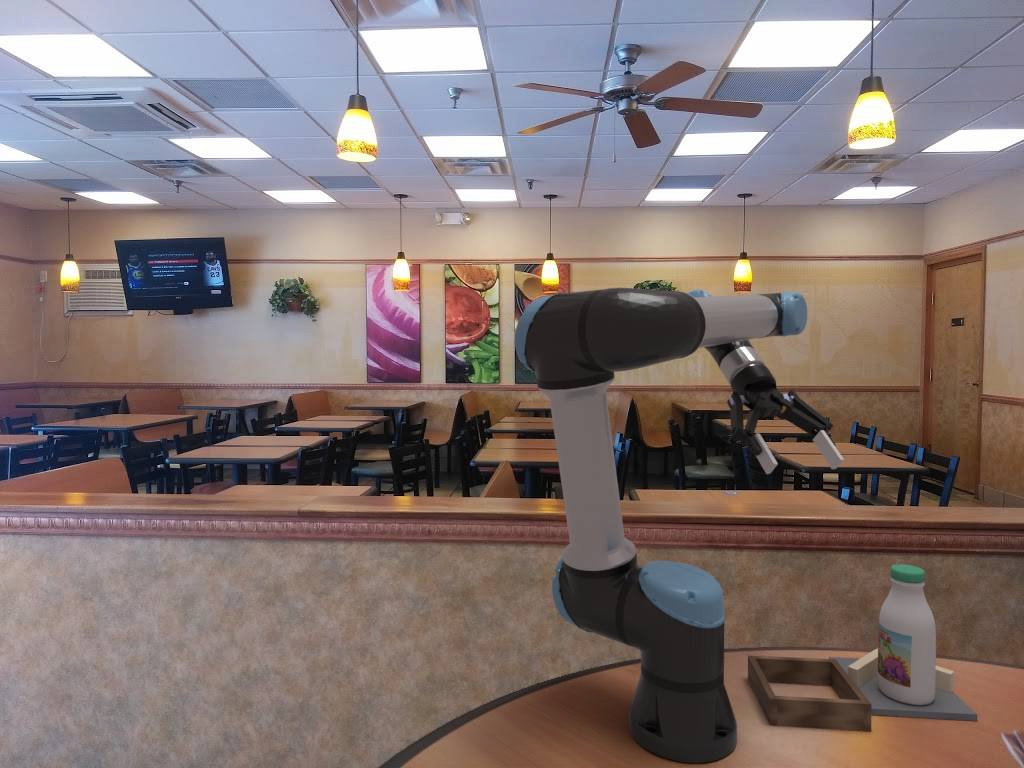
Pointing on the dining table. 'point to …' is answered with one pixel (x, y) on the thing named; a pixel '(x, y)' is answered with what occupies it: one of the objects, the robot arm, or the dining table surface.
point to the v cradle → (940, 708)
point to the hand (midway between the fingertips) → (805, 466)
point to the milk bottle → (907, 640)
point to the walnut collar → (806, 710)
